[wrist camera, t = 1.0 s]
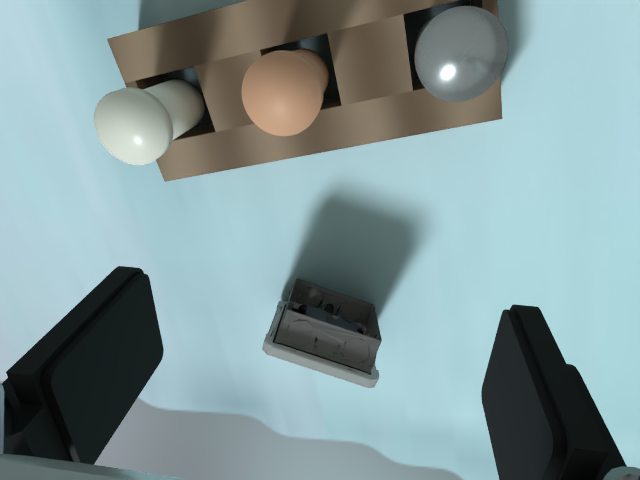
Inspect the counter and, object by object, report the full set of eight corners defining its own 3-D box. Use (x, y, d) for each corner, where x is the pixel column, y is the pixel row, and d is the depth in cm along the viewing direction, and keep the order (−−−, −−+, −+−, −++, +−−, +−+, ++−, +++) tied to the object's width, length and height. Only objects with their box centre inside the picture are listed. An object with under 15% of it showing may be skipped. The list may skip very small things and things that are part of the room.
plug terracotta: (327, 34, 27) (310, 43, 21) (340, 102, 29) (328, 128, 23) (264, 49, 28) (231, 62, 22) (281, 114, 30) (254, 142, 24)
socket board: (480, -59, 27) (494, -68, 23) (489, 105, 31) (502, 118, 28) (137, 35, 32) (107, 39, 29) (186, 164, 36) (164, 181, 33)
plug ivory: (197, 66, 29) (148, 82, 23) (217, 127, 31) (176, 158, 25) (142, 80, 30) (81, 99, 24) (165, 138, 32) (113, 170, 26)
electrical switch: (277, 305, 42) (254, 369, 34) (292, 260, 40) (272, 316, 32) (368, 336, 43) (368, 406, 34) (388, 292, 40) (393, 356, 32)
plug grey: (477, -3, 25) (506, -5, 19) (481, 72, 27) (509, 92, 21) (404, 15, 26) (410, 18, 20) (413, 86, 28) (421, 109, 22)
